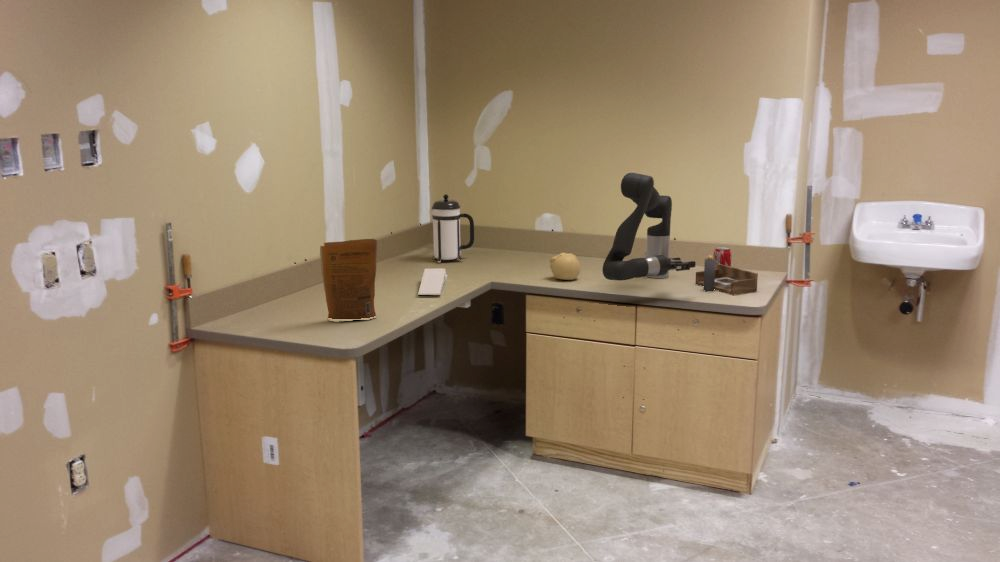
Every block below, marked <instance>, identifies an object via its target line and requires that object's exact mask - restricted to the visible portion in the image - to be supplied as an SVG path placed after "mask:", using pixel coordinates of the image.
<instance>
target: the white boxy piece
mask: <svg viewBox="0 0 1000 562" xmlns="http://www.w3.org/2000/svg"><path fill="white" fill-rule="evenodd" d="M421 277H422V278H421V282H420V285H419V290H418V293H417V296H418V295H440V294H441V295H442V292H441V290H442V291H443V288H442V287H444V285H445V284H444V281H445V280H446V281H447V280H448V274H447V273H446V268H424V270H423V273H422V276H421ZM443 284H444V285H443Z"/></svg>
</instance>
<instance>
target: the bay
mask: <svg viewBox="0 0 1000 562" xmlns="http://www.w3.org/2000/svg"><path fill="white" fill-rule="evenodd" d="M758 275H759V272H754V271H750V270H747V269H742V268H739V267H738V268H737V267H735V266H731V267H730V266H726V265H722V264H717V269H715V283H714V289H715V290H714V291H717V290H719V291H718V292H720V291H722V292H721V293H724V292H725V294H727V293H729V294H728V295H731V294H732V296H735V295H734V294H737V295H742V294H741V293H743V294H748V293H749V292H750V293H755V292H758V280H759V279H758V278H759V276H758ZM696 284H698V285H697V286H700V285H701V286H700V287H703V286H704V270H699V271H696V272H695V285H696ZM750 293H749V294H750Z"/></svg>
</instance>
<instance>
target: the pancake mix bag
mask: <svg viewBox="0 0 1000 562" xmlns="http://www.w3.org/2000/svg"><path fill="white" fill-rule="evenodd" d="M319 256H320V267H321V276H322V282H323V289H324V293H325V295H324V296H325V302H326V308H327V311H328V312H327V313H328V315H327V319H328V318H332V319H361V318H370V317H374V316H376V317H377V315H376V310H375V296H376V292H375V291H376V289H375V288H376V287H375V285H376V283H375V282H376V277H377V258H378V239H375V238H363V239H362V238H361V239H353V240H352V239H348V240H345V241H330V242H329V241H327V242H323V245H320V247H319Z"/></svg>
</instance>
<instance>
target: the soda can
mask: <svg viewBox="0 0 1000 562" xmlns="http://www.w3.org/2000/svg"><path fill="white" fill-rule="evenodd" d="M712 259H715V260H716V261H715V269H717V264H722V265H726V266H730V267H732V251H731V247H729V246H716V247H715V249H714V251H713V257H712Z"/></svg>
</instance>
